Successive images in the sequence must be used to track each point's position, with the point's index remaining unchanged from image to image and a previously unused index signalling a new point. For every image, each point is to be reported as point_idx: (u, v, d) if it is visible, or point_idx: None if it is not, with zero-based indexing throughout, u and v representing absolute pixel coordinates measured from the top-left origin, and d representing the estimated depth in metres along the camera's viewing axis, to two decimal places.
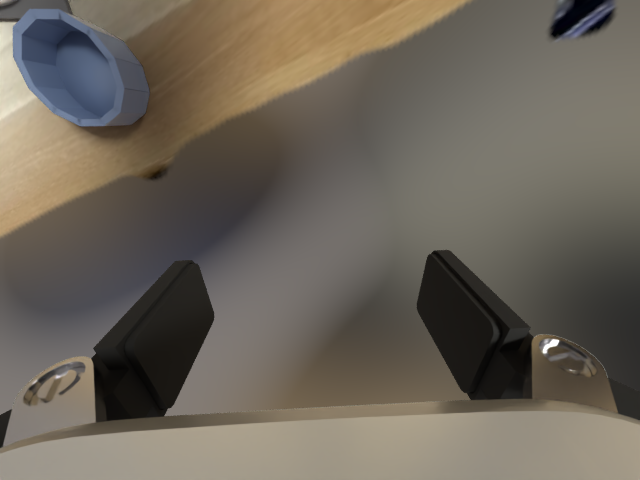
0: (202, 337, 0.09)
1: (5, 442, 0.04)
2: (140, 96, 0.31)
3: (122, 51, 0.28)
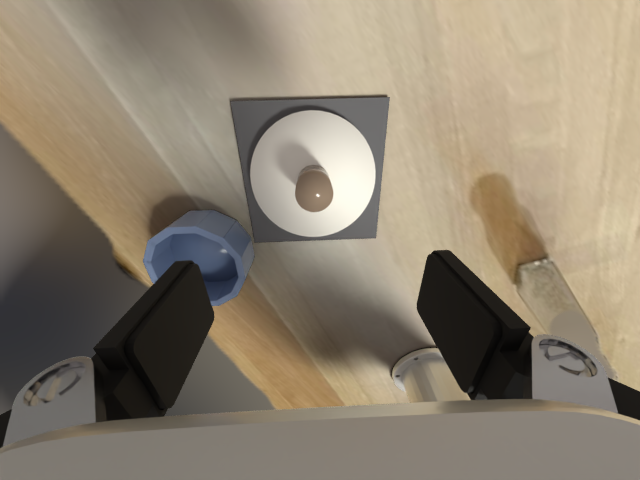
0: (202, 337, 0.09)
1: (5, 442, 0.04)
2: None
3: None
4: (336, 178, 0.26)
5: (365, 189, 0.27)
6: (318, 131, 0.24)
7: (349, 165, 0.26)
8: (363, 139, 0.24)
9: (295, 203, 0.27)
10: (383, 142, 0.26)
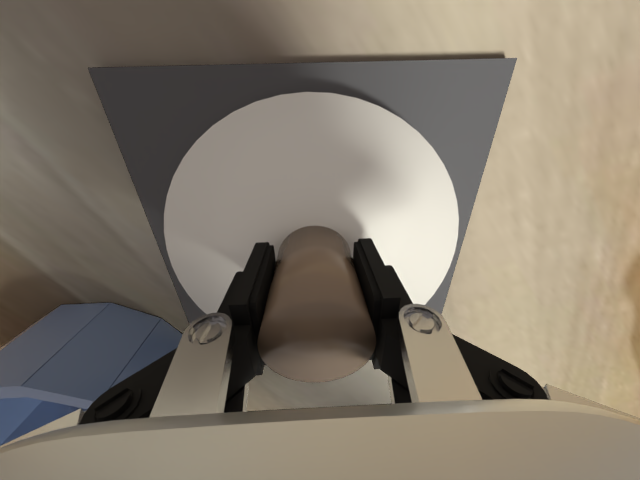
0: None
1: (171, 365, 0.05)
2: None
3: None
4: None
5: (429, 271, 0.12)
6: (326, 148, 0.09)
7: (399, 225, 0.11)
8: (440, 167, 0.10)
9: None
10: (479, 172, 0.11)
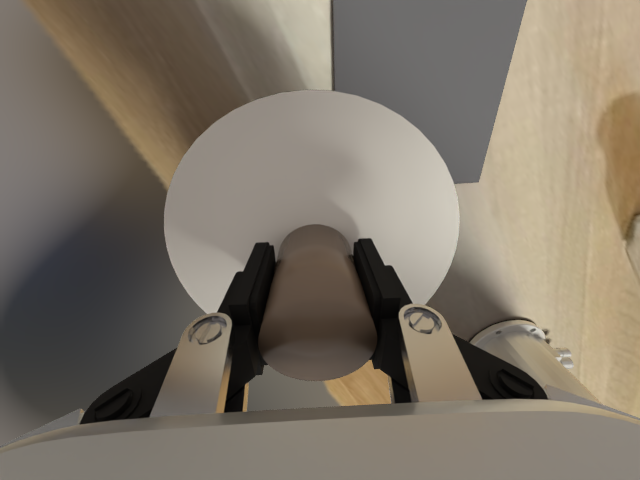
0: None
1: (171, 365, 0.05)
2: None
3: None
4: None
5: (430, 270, 0.12)
6: (327, 147, 0.09)
7: (400, 224, 0.11)
8: (441, 165, 0.10)
9: None
10: (511, 50, 0.21)
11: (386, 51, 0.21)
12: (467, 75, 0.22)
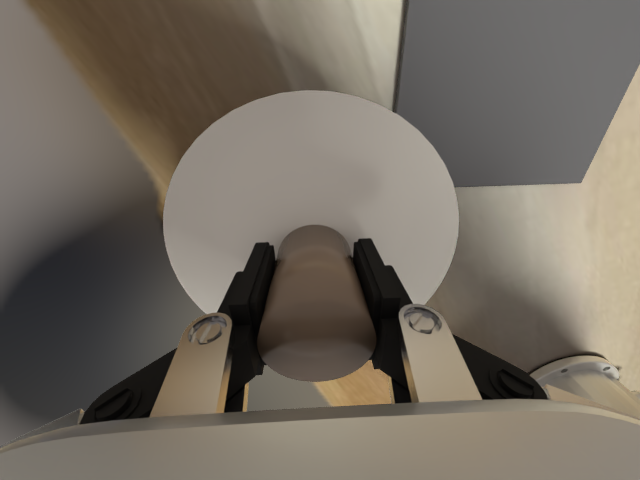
0: None
1: (171, 365, 0.05)
2: None
3: None
4: None
5: (429, 270, 0.12)
6: (326, 147, 0.09)
7: (399, 224, 0.11)
8: (440, 165, 0.10)
9: None
10: None
11: None
12: (600, 23, 0.15)
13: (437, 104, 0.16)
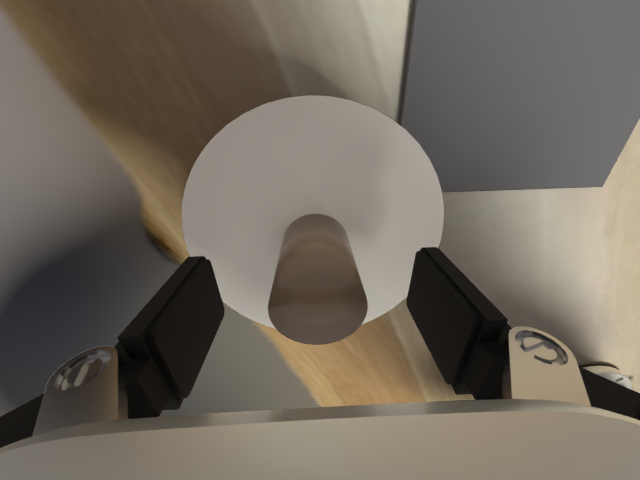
0: (214, 331, 0.09)
1: (37, 423, 0.04)
2: None
3: None
4: (361, 239, 0.13)
5: None
6: (326, 144, 0.11)
7: (391, 214, 0.12)
8: (426, 161, 0.11)
9: None
10: None
11: None
12: (633, 9, 0.13)
13: (449, 100, 0.15)
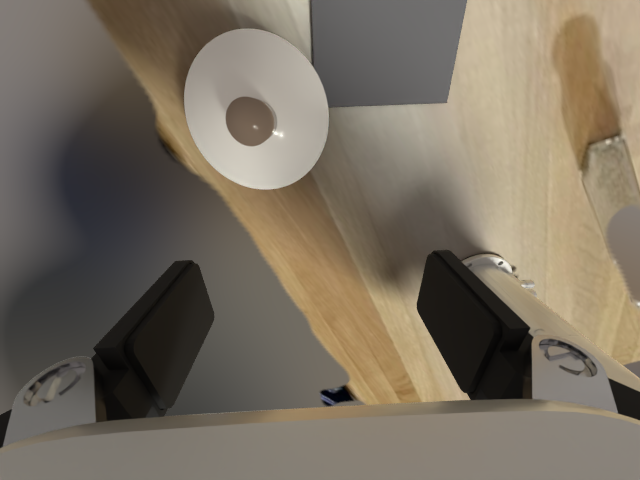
0: (202, 337, 0.09)
1: (5, 442, 0.04)
2: None
3: None
4: (284, 117, 0.23)
5: (318, 129, 0.24)
6: (257, 56, 0.21)
7: (297, 99, 0.23)
8: (310, 66, 0.21)
9: (241, 148, 0.24)
10: None
11: None
12: None
13: (339, 43, 0.25)
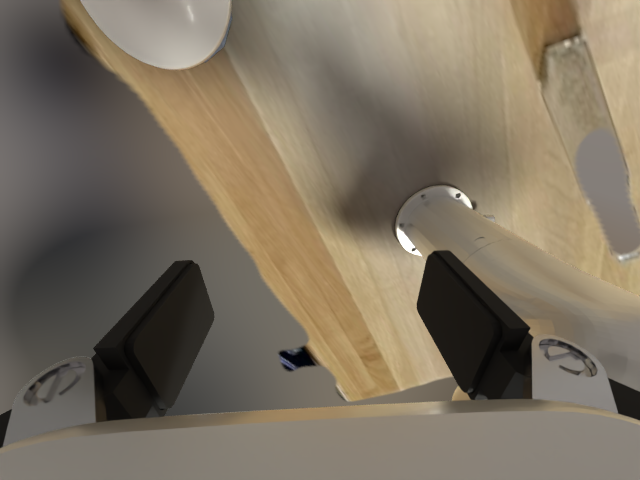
0: (202, 337, 0.09)
1: (5, 442, 0.04)
2: None
3: None
4: None
5: None
6: None
7: None
8: None
9: (134, 10, 0.22)
10: None
11: None
12: None
13: None
